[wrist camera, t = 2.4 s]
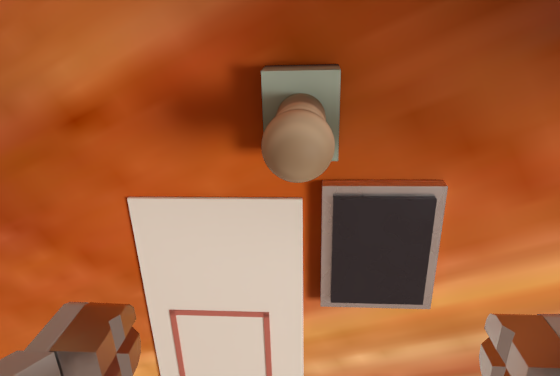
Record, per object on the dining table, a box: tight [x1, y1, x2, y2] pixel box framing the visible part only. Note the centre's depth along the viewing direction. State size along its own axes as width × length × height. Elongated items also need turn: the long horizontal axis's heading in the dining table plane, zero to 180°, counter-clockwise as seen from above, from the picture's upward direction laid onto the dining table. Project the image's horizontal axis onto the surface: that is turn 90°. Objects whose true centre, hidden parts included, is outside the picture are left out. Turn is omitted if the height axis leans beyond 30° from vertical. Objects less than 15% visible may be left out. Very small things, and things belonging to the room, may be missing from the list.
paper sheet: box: [127, 197, 304, 376], centre depth 37 cm, size 22×14×1 cm, turn 2°
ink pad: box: [320, 180, 448, 309], centre depth 33 cm, size 11×9×2 cm
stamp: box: [261, 64, 341, 183], centre depth 25 cm, size 6×5×11 cm
